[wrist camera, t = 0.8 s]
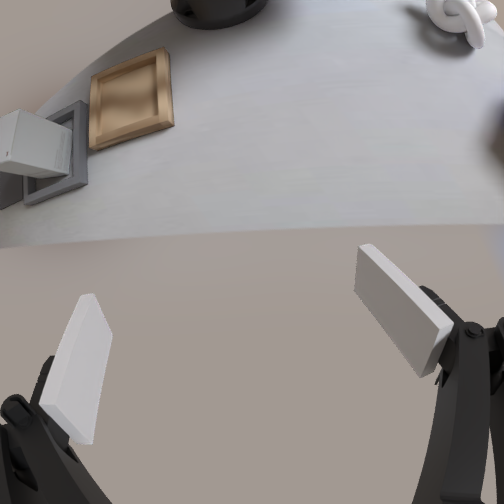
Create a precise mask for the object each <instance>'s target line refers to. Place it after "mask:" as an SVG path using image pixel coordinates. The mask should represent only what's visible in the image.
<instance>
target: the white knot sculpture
mask: <svg viewBox="0 0 504 504" xmlns="http://www.w3.org/2000/svg"><path fill="white" fill-rule="evenodd" d="M426 9H427V12H428V15H429V17H430V19H431V20H432V22H433V23H434V24H435V25H436V26H437V27H439V28H440V29H442V30H444V31H447V32H452V33H461V32H464V33H465V37H466V39H467V41H468V43H469V44H470V45H471V46H472V47H474V48H476V49H480V48H482V47H483V46H484V44H485V34H484V29H483V26H482V25H484V24H486V23H488V22H490V21H491V20H493V19H494V18H495V17H496V15H497V9H496V8H495V6H494V5H493V4H492V3H491V2H489V1H486V0H446V1H445V0H426ZM445 13H446V14H447V15H449V16H447V15H446V14H445Z"/></svg>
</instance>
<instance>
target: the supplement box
mask: <svg viewBox="0 0 504 504" xmlns="http://www.w3.org/2000/svg"><path fill="white" fill-rule="evenodd" d="M72 145H73V130H71V129H68V128H66V127H64V126H61V125H59V124H57V123H54V122H52V121H49V120H47V119H44V118H42V117H40V116H37V115H35V114H32V113H30V112H27V111H25V110H23V109H20V108H19V109H17V110H15V111H13V112H10V113H8V114H6V115H4V116H2V117H0V171H2V172H8V173H13V174H18V175H24V176H29V177H34V178H39V179H43V178H50V177H57V176H64V175H68V173H69V166H70V158H71V152H72Z"/></svg>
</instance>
